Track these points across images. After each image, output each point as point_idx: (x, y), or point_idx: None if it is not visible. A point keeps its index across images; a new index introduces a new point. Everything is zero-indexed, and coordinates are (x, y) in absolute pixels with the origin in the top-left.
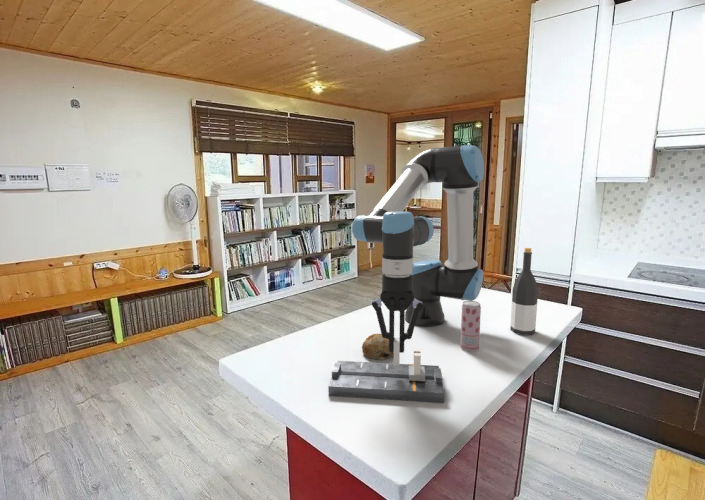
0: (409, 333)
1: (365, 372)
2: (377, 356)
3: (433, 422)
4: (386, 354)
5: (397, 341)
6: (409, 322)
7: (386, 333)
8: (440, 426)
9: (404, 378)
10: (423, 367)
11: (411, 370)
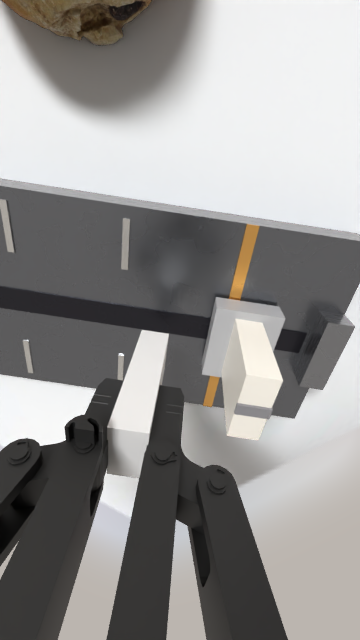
0: (205, 555)
1: (39, 292)
2: (72, 34)
3: (231, 447)
4: (127, 8)
5: (130, 473)
6: (226, 616)
7: (34, 503)
8: (241, 457)
9: (189, 339)
10: (278, 326)
11: (218, 345)
